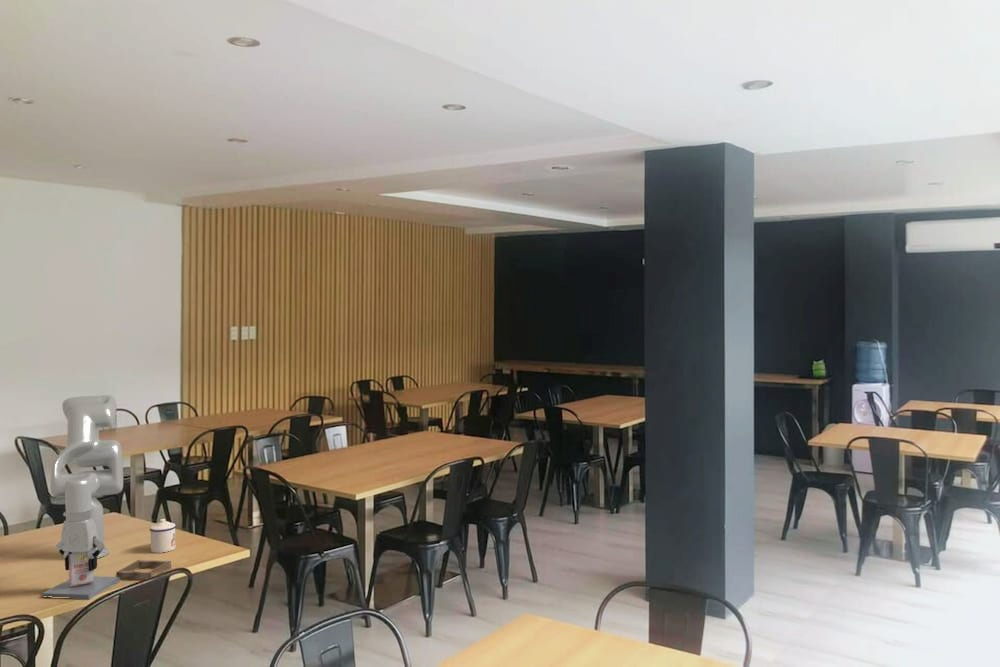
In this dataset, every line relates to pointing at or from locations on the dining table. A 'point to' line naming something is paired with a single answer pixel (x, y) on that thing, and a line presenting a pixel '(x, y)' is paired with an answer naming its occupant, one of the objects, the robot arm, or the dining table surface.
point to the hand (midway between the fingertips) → (81, 569)
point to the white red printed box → (79, 569)
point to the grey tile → (82, 588)
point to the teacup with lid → (163, 536)
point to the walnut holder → (130, 571)
